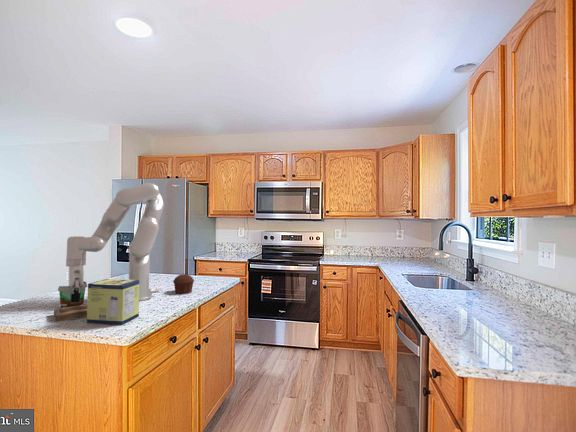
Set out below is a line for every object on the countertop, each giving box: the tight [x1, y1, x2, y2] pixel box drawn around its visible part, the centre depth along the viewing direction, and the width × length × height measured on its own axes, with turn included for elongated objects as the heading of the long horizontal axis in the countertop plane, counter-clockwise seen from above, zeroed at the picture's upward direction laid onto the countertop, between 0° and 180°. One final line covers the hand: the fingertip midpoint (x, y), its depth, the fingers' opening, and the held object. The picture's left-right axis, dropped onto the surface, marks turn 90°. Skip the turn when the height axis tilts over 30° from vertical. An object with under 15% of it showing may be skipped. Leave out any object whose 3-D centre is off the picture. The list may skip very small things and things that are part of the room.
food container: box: [57, 280, 88, 308], centre depth 134 cm, size 12×6×10 cm, turn 163°
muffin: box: [172, 273, 195, 295], centre depth 162 cm, size 12×11×10 cm
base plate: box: [53, 304, 87, 323], centre depth 121 cm, size 17×11×2 cm, turn 133°
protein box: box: [86, 278, 140, 326], centre depth 116 cm, size 10×16×16 cm
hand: (74, 299), depth 134 cm, fingers closed on food container, 6 cm apart
